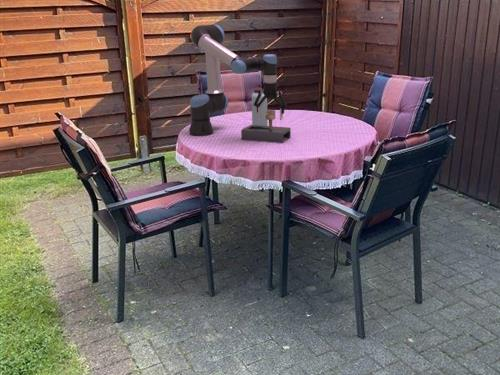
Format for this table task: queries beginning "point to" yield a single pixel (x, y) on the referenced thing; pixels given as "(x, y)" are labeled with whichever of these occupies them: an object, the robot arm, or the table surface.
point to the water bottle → (262, 120)
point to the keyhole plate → (265, 133)
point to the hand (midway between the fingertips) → (270, 118)
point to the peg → (270, 117)
